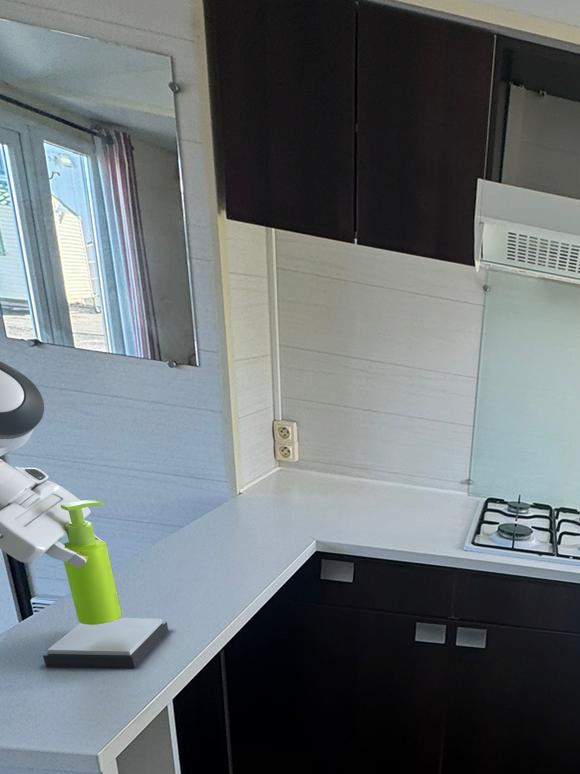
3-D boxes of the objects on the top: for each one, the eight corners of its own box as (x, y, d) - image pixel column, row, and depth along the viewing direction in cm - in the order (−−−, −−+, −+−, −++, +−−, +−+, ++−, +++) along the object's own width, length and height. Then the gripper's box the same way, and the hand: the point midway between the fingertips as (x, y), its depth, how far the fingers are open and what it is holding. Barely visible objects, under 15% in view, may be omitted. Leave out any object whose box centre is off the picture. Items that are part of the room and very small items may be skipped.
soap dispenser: (135, 614, 109) (112, 502, 101) (91, 628, 103) (63, 510, 95) (114, 605, 111) (90, 495, 103) (70, 618, 105) (40, 503, 97)
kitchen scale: (46, 667, 103) (41, 651, 102) (89, 629, 114) (86, 615, 113) (134, 668, 106) (131, 653, 104) (168, 631, 117) (166, 617, 116)
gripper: (-21, 502, 86) (82, 566, 94) (43, 465, 103) (126, 522, 111) (-52, 532, 87) (53, 594, 94) (17, 491, 104) (101, 546, 111)
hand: (93, 555), depth 103 cm, fingers closed on soap dispenser, 6 cm apart
